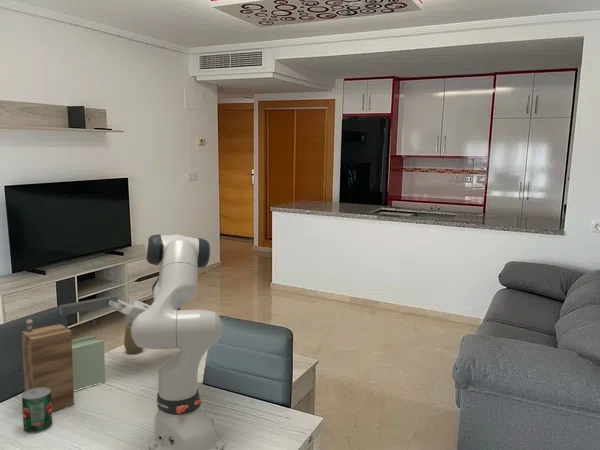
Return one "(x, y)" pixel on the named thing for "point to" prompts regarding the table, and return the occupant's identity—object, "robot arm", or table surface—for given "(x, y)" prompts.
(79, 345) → the pale green block
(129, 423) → the table surface
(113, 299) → the strut
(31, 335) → the tower
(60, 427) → the table surface
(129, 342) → the squeeze bottle
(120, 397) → the table surface
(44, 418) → the canned tomato
